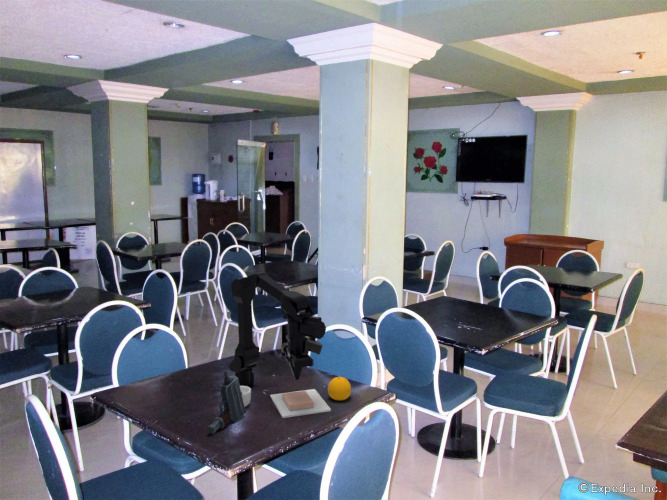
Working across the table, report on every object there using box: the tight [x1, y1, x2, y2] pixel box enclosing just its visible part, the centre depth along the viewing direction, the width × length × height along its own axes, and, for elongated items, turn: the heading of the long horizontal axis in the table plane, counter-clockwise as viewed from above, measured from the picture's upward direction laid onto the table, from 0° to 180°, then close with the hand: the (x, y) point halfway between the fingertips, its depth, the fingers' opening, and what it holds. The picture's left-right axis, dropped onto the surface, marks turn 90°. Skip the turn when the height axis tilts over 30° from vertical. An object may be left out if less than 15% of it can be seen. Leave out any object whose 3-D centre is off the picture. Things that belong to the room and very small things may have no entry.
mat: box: [269, 388, 332, 419], centre depth 180 cm, size 16×18×1 cm
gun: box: [207, 370, 248, 436], centre depth 162 cm, size 3×17×15 cm
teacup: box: [240, 386, 252, 408], centre depth 177 cm, size 10×8×5 cm
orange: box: [327, 376, 352, 401], centre depth 184 cm, size 8×8×8 cm
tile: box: [282, 390, 314, 411], centre depth 179 cm, size 8×2×10 cm
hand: (296, 379), depth 178 cm, fingers closed
